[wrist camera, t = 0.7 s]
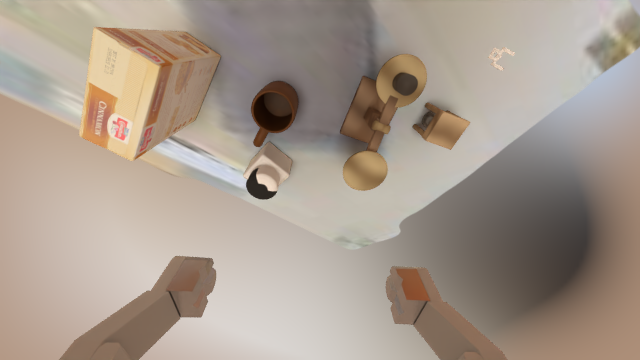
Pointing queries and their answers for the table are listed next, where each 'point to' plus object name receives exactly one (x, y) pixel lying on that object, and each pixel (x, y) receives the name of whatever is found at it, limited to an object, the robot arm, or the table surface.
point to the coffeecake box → (143, 87)
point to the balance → (379, 116)
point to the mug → (274, 109)
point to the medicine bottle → (267, 172)
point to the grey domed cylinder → (428, 118)
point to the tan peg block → (443, 127)
